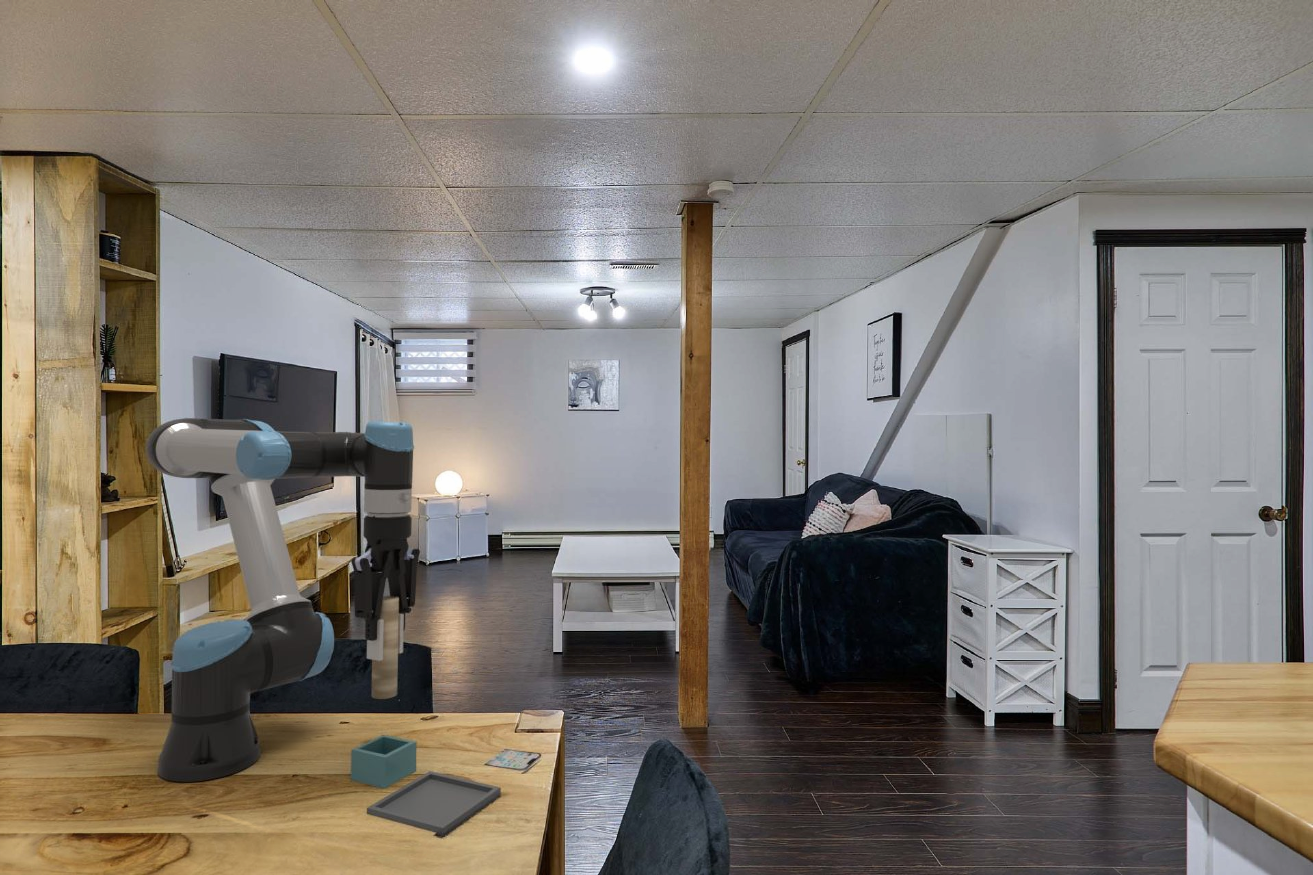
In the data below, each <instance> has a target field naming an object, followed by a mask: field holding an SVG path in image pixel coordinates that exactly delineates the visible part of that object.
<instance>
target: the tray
mask: <svg viewBox="0 0 1313 875" xmlns="http://www.w3.org/2000/svg"><path fill="white" fill-rule="evenodd" d="M501 790H502V789H501V786H496V785H492V784H487V783H483V782H479V781H474V780H470V779H466V778H463V777H462V778H461V777H457V776H454V775H448V774H444V773H439V772H436V771H430V770H429V771H428V772H426V773H424V774H423V775H421V776H419V777H417V778H416V779H414V780H412V781H411V782H409V783H406V784H405V785H404V786H402V787H400V788H399V789H397V790H395V791H394V792H391V793H390V794H388V795H386V796H385V797H383V798H381V799H380V800H378V801H376V802H374V803H372V804H371V805H369V806H367V807H366V814H367V815H370V816H373V817H374V816H375V817H379V818H382V819H385V820H389V821H393V822H396V823H400V824H405V825H408V826H412V827H415V828H418V829H419V828H420V829H423V830H426V831H430V832H434V833H433V835H432V836H434V837H438V838H442V839H443V838H445V837H446V836H448V835H449V834H450V833H452V832H453V831H454V830H456V829H457V828H458V827H459V828H460V826H461V825H463V824H464V823H465V822H467V821H468V820H470V819H472V817H474V816H476V815H477V814H478V813H479V812H481V811H482V810H483V809H485V808H486V807H489V805H491V804H492V803H493V802H495V801H496V800H498V799H499V798H501V795H502V794H501V793H502V792H501Z"/></svg>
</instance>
